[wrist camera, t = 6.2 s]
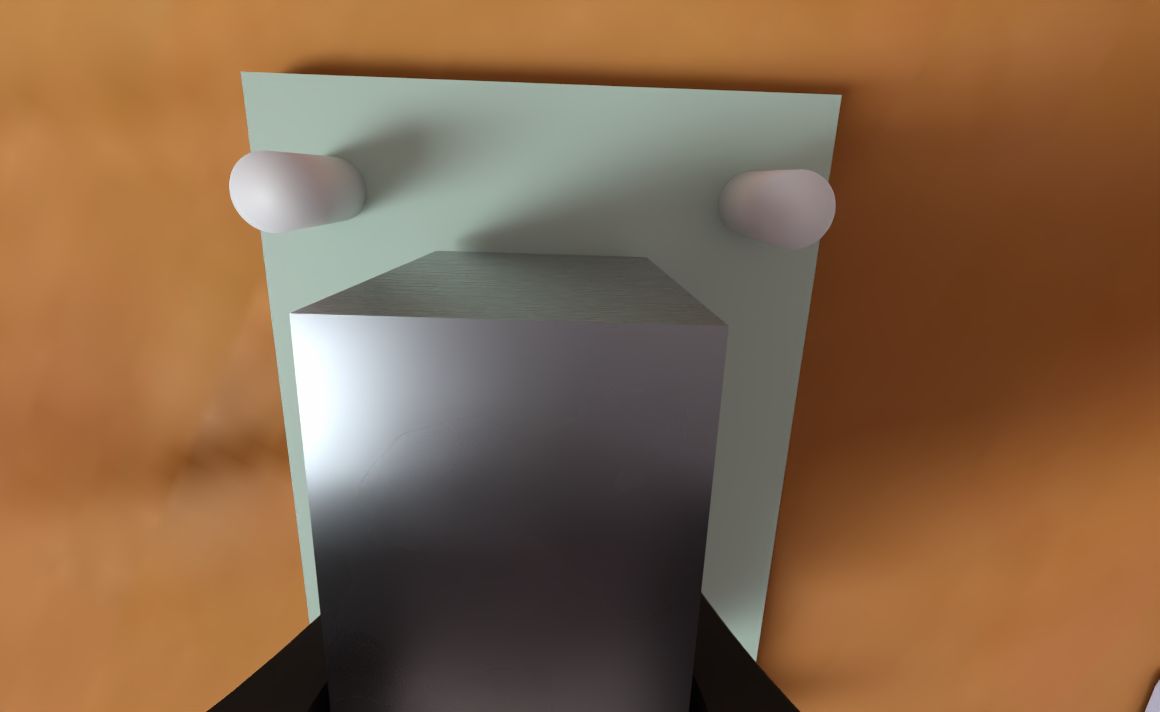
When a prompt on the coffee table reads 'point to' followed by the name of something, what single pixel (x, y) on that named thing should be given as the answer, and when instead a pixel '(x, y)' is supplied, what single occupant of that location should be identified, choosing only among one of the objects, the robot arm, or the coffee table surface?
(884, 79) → the coffee table surface
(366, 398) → the block
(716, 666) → the robot arm
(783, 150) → the pin tray
